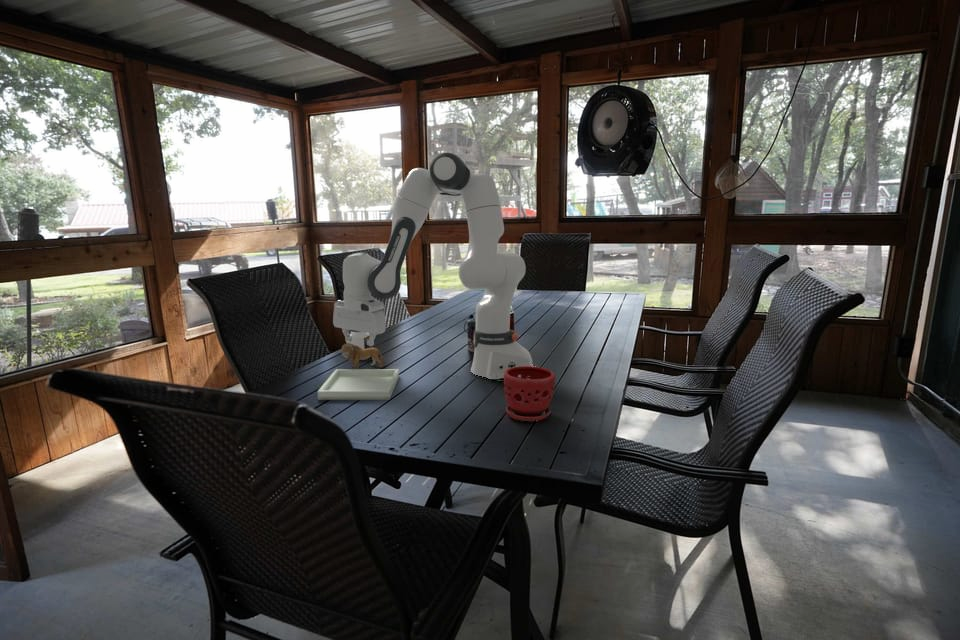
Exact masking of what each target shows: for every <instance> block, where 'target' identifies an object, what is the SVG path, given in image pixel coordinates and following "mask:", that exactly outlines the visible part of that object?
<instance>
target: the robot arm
mask: <svg viewBox="0 0 960 640" xmlns="http://www.w3.org/2000/svg"><path fill="white" fill-rule="evenodd" d="M437 195H441V196H443V195H444V196H452V197H453V196H454V197H457V196H462V199H463V201H464V202H463V203H464V207H465V213H466V219H467V227H468V237H469V239H468V247H467V251H466V255H465V256H464V258H463V260H462V261H461V263H460V264H459V267H458V277H459V280H460V282H461V284H462V285H463V286H464V287H465V288H466V289H469V290H477V291H484V293H483V296H482V297H481V299H480V300H479V301H478V303H477V304H476V307H475V329H474V331H473V347H474V353H473V359H472V363H471V364H472V365H471V368H470V370H471V371H470V373H471V372H472V373H473V374H472V373H471V374H472V375H474V374H475V375H474V376H476V375H478V376H477V377H479V376H482V377H481V378H483V377H486V378H488V379H500V378H504V372H505V371H506V370H507V369H509V368H513V367H519V366H533V364H534V363H533V359H532V358H533V357H532V355H531V353H530V351H529V350H528V349H526V348H525V347H524V346H522V345H521V344H520V343H519V342H517V340H519V336H518V334H517V333H516V332H515V331H514V330H513V329H510V327H511V326H510V324H511V323H510V322H511V307H512V302H513V298H514V295H515V292H516V290H517V287H518V285H519V283H520V282H521V281H522V280H523V278H524V276H525V275H526V267H527V266H526V263H525V260H524V258H523V257H522V256H521V255H519V254H517V253H513V252H510V251H501V252H500V251H499V252H498V245H499V240H500V238H501V237H502V236H503V235H504V233H505V227H504V226H505V225H504V220H503V219H504V218H503V213H502V206H501V201H500V197H499V196H500V195H499V192H498V188H497V186H496V182H495V181H494V178H493V177H492V175H489V174H488V173H483V172H481V173H480V172H479V173H472V172H471V171H470V169H469V168H468V166H467V164H466V162H464V161H463V160H462V159H461V158H460V157H459V156H458V155H456V154H454V153H452V152H442V153H439V154H438V155H435V156H434V158H433V159H432V160H431V163H430V166H429V169H427V168H426V169H425V168H422V167H415V168H413V169H411V170H410V171H409V172H408V174H407V176H406V178H405V179H404V181H403V183H402V185H401V187H400V189H399V191H398V193H397V196H396V198H395V201H394V205H393V210H392V215H391V216H392V217H391V233H390V237H389V241H388V243H387V246H386V249H385V250H384V254H383V256H382V259H381V260H379V259H377V258H375V257H373V256H371V255H370V254H368V253H367V252H356V253H352V254H349V255H347V256H345V258H344V259H343V263H342V281H343V285H344V290H343V300H341V299H337V300H336V301H335V303H334V307H333V316H332V324H333V326H334V328H339V329H342V330H341V331H342V333H343V335H344V338H345V342H346V343H347V342H351V341H352V336H350V334H351V332H350V331H351V330H355V331H360V332H366V333H369V336H370V338H369V340H367V345H368V346H374V345H375V344H374V343H375V342H374V341H375V339H376V337H377V335H381V334H383V333H385V331H386V330H387V323H386V322H387V321H386V315H385V311H384V310H383V309H385V304H384V302H383V301H381V300H388V299H392V298H393V297H395V296H397V294H398V293H399V291H400V289H401V284H402V280H401V278H402V277H401V272H402V271H401V270H402V266H403V263H404V261H405V259H406V256H407V253H408V251H409V248H410V245H411V243H412V241H413V240H414V238H415V236H416V235H417V234H418V232H419V231H420V229H421V228H422V227H423V224H424V223H425V221H426V218H427V217H428V215H429V212H430V210H431V207H432V205H433V202H434V200H435V198H436V196H437ZM372 295H373V296H372ZM376 298H377V299H376ZM379 299H380V300H379ZM532 363H533V364H532ZM536 366H537V365H536ZM536 366H535V367H536ZM533 367H534V366H533ZM518 377H521V375H518ZM486 378H485V379H486ZM488 379H487V380H488Z"/></svg>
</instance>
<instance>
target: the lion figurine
mask: <svg viewBox="0 0 960 640" xmlns="http://www.w3.org/2000/svg"><path fill="white" fill-rule="evenodd" d="M341 354H342V357H344V358H346V359H347V360H348V361H351V362H353V365H352V366H351V368H353V367H354V368H353V369H359V367H360V366H359V362H360V360H361V361H363V360H368V359H369V358H371V359H372V362H371V363H370V366H375V364H376V363H378V364H379V365H378V369H380V368H381V369H382V367H383V365H386V364H387V362H385V361H384V359H383V355H382V353H381V351H380V350H379V349H378V348H377V347H373V348H368V349H361V348H359V347H358V346H355V345H353V344H350V343H347V342H346V343H343V345H341ZM355 366H356V367H355Z"/></svg>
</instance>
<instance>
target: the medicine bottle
mask: <svg viewBox="0 0 960 640" xmlns="http://www.w3.org/2000/svg"><path fill="white" fill-rule="evenodd" d="M350 336H352V341H351V342H347V341H346V343H350V344H353V345H355V346H358V347H359V348H361V349H368V348H374V347H373V346H374V345H373V346H368V345H367V340H369V338H370V336H369V333H366V332H360V331H355V330H350Z"/></svg>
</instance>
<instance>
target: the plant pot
mask: <svg viewBox="0 0 960 640" xmlns="http://www.w3.org/2000/svg"><path fill="white" fill-rule="evenodd" d="M518 375H521V377H520V378H518ZM527 376H529V377H530V378H527ZM555 376H556V375H555V373H554V371H552V370H550V369H547V368H545V367H539V366H537V367H533V366H519V367H513V368H509V369H507V370H506V371H505V372H504V380H503V385H504V386H503V391H504V397H505V401H506V403H507V406H506V407H505V411H506V414H507V415H508V417H510V418H512V419H513V418H514V419H513V420H516V419H518V420H525V421H533V420H541V419H544V418H545V419H547V418H548V417H549V416H550V415H549V414H551V408H550V407H549V406H550V404H551V402H552V399H553V396H554V392H555V391H554V390H555V383H556V382H555V380H556V377H555ZM537 378H538V379H537ZM544 411H545V414H543V415H542V413H543V412H544ZM546 417H547V418H546ZM545 419H544V420H545ZM518 420H517V421H518ZM541 421H542V420H541Z"/></svg>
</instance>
